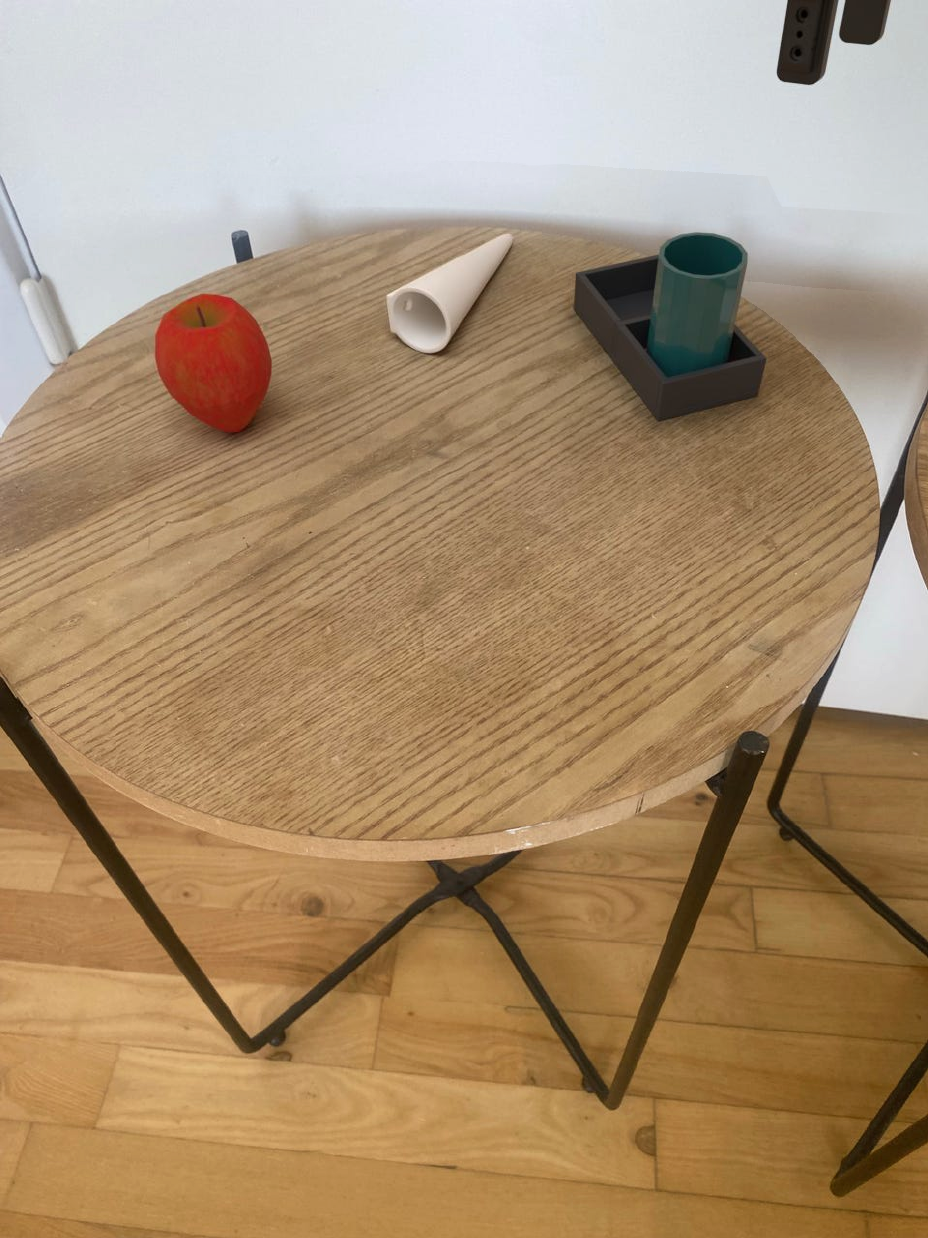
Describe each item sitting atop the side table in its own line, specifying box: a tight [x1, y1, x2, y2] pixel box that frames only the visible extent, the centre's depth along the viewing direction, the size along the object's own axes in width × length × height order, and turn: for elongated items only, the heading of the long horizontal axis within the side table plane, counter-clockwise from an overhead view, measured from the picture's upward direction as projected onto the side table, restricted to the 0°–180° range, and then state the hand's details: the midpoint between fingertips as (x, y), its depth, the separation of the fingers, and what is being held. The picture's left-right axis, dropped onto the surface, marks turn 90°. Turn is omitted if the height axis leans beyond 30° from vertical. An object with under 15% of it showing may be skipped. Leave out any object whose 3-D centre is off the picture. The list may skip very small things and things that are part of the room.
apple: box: [154, 293, 273, 434], centre depth 73 cm, size 9×8×11 cm
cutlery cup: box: [646, 231, 749, 378], centre depth 74 cm, size 6×6×10 cm
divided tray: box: [573, 253, 767, 422], centre depth 80 cm, size 17×9×4 cm, turn 19°
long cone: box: [386, 233, 514, 354], centre depth 86 cm, size 6×6×19 cm
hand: (830, 60), depth 50 cm, fingers open, 8 cm apart
